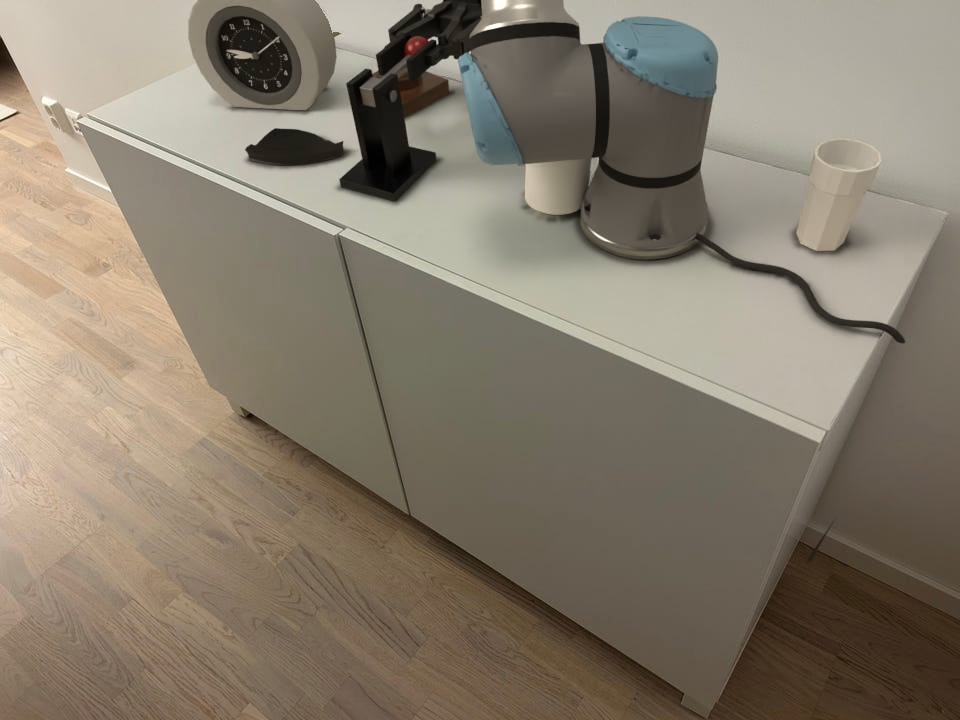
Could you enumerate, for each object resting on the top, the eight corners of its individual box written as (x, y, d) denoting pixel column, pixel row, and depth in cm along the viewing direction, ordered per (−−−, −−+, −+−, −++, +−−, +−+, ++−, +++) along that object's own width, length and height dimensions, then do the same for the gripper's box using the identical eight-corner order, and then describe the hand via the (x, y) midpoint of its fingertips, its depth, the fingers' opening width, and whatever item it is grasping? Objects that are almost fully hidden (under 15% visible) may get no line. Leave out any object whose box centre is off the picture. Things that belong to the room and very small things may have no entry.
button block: (449, 92, 116) (447, 68, 113) (404, 117, 111) (400, 93, 108) (400, 73, 122) (396, 49, 119) (355, 96, 117) (350, 72, 114)
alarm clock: (210, 105, 118) (163, -23, 104) (230, 84, 123) (188, -42, 109) (329, 111, 114) (298, -22, 100) (346, 89, 119) (318, -41, 104)
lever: (416, 57, 101) (411, 29, 98) (440, 61, 100) (436, 33, 97) (359, 109, 93) (352, 80, 90) (384, 114, 92) (378, 85, 89)
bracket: (384, 148, 106) (367, 55, 95) (436, 160, 102) (424, 65, 92) (340, 187, 99) (317, 92, 89) (395, 201, 96) (377, 104, 86)
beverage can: (557, 226, 89) (563, 137, 81) (511, 201, 94) (513, 113, 85) (599, 201, 93) (609, 113, 85) (554, 178, 98) (559, 92, 89)
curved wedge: (324, 174, 102) (321, 164, 101) (245, 160, 106) (242, 150, 105) (352, 144, 107) (350, 134, 106) (276, 132, 111) (273, 122, 110)
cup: (794, 216, 88) (819, 134, 80) (853, 227, 85) (884, 144, 77) (785, 248, 84) (810, 165, 76) (846, 260, 81) (878, 176, 73)
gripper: (529, 33, 107) (454, 105, 94) (431, 19, 114) (347, 85, 100) (528, -21, 102) (448, 48, 88) (425, -32, 108) (335, 30, 94)
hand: (395, 67), depth 94 cm, fingers closed on lever, 4 cm apart
